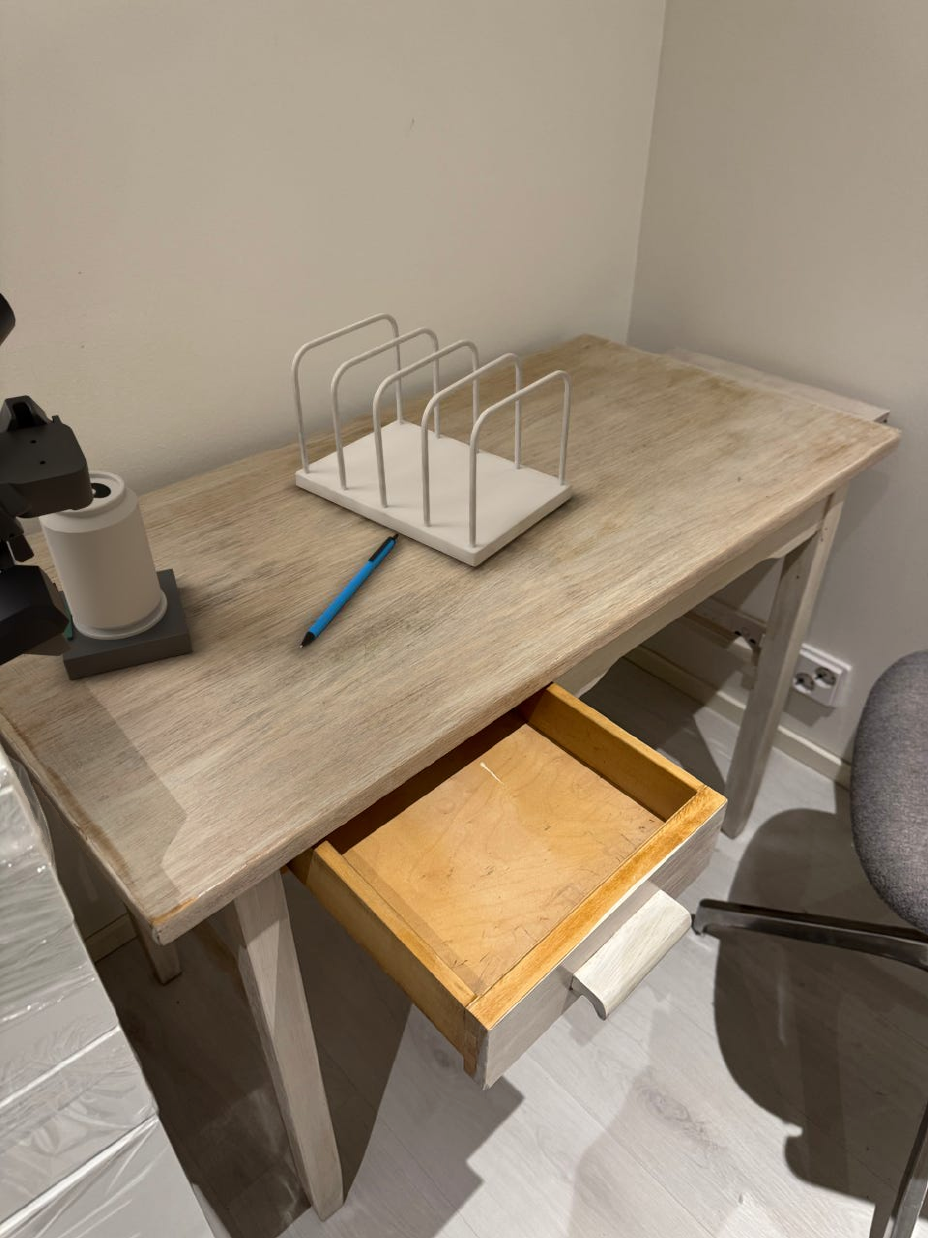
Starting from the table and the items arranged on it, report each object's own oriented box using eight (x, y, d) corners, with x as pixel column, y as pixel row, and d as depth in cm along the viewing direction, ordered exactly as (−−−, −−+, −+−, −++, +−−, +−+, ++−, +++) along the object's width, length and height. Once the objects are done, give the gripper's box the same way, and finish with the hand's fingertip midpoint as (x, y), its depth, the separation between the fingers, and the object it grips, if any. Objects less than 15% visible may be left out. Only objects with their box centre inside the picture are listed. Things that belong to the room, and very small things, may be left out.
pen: (401, 539, 91) (401, 530, 90) (305, 652, 77) (304, 642, 76) (393, 537, 91) (393, 528, 90) (296, 649, 77) (295, 640, 77)
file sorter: (572, 499, 97) (586, 361, 87) (474, 572, 86) (477, 424, 76) (399, 430, 109) (394, 303, 99) (295, 487, 98) (277, 350, 88)
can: (181, 606, 77) (152, 486, 70) (103, 648, 73) (63, 524, 65) (132, 572, 81) (100, 454, 74) (56, 610, 77) (13, 489, 69)
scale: (69, 680, 74) (61, 656, 72) (64, 610, 81) (56, 587, 79) (192, 652, 77) (187, 628, 75) (177, 586, 84) (171, 564, 82)
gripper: (82, 504, 47) (195, 643, 60) (-8, 305, 55) (108, 465, 69) (-123, 609, 45) (41, 727, 58) (-182, 386, 54) (-28, 534, 67)
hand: (45, 602), depth 63 cm, fingers open, 9 cm apart
